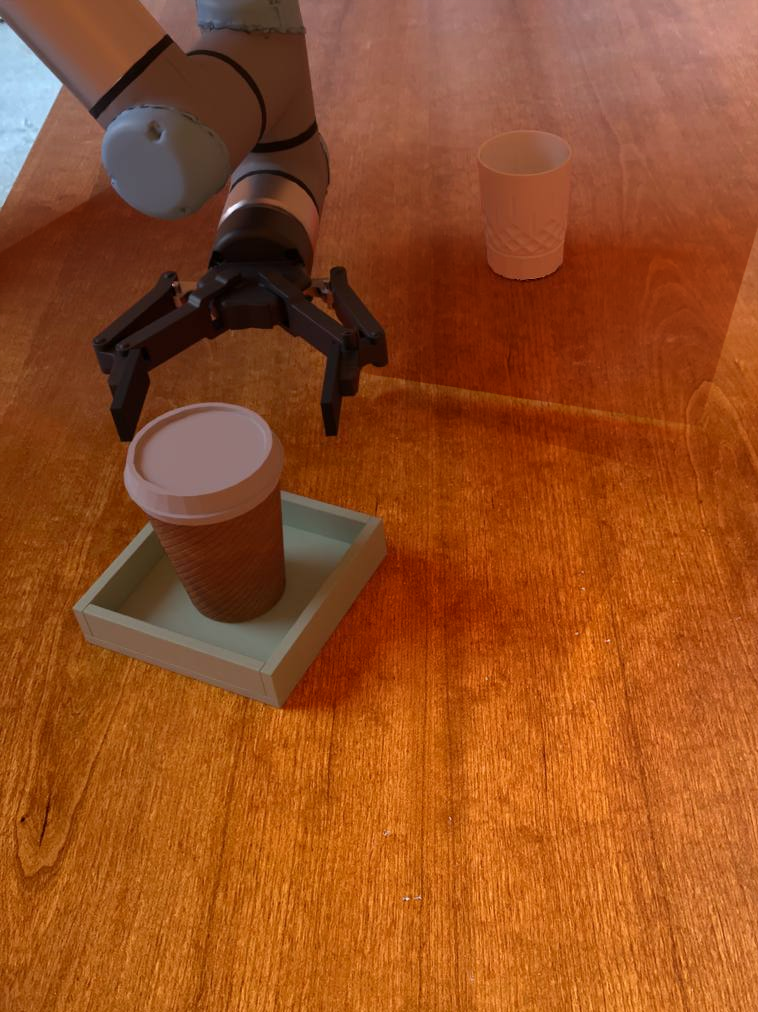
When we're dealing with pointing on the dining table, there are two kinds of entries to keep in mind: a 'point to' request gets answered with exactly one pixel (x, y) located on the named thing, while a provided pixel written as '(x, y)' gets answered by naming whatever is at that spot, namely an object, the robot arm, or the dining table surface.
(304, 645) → the square tray
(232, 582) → the disposable coffee cup
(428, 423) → the dining table surface
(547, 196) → the white cup
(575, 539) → the dining table surface
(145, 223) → the dining table surface
